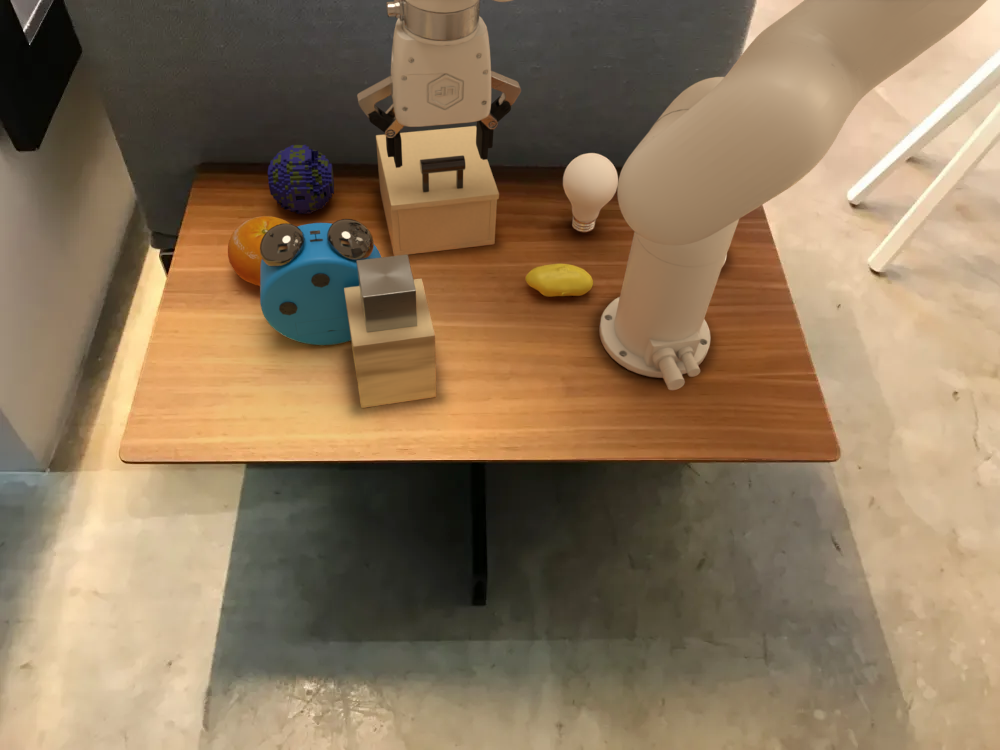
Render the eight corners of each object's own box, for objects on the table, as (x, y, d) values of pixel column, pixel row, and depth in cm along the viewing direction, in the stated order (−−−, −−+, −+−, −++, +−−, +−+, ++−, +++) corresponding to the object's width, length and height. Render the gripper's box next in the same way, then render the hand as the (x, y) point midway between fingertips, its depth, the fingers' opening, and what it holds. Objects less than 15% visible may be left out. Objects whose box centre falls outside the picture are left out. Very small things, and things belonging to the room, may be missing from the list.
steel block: (417, 326, 84) (415, 290, 80) (366, 332, 83) (362, 297, 79) (409, 290, 87) (407, 254, 83) (360, 296, 86) (356, 260, 82)
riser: (436, 397, 91) (435, 335, 83) (361, 408, 90) (352, 346, 82) (423, 341, 96) (421, 278, 88) (352, 351, 95) (343, 287, 87)
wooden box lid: (498, 199, 100) (500, 164, 96) (391, 211, 98) (389, 175, 94) (475, 131, 108) (476, 96, 104) (376, 140, 106) (373, 105, 102)
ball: (276, 183, 112) (267, 134, 106) (336, 181, 113) (329, 132, 107) (273, 224, 107) (263, 175, 101) (335, 222, 108) (328, 173, 102)
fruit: (317, 274, 97) (278, 212, 93) (251, 309, 97) (210, 249, 94) (317, 253, 104) (281, 195, 101) (256, 286, 105) (218, 230, 101)
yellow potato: (590, 307, 101) (595, 283, 98) (523, 300, 101) (525, 276, 98) (591, 281, 103) (595, 258, 100) (525, 275, 103) (528, 251, 100)
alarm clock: (386, 303, 99) (377, 202, 88) (391, 343, 96) (382, 243, 84) (271, 313, 98) (247, 212, 86) (271, 354, 94) (246, 254, 82)
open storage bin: (494, 244, 107) (497, 195, 100) (393, 256, 104) (390, 206, 98) (474, 180, 114) (475, 131, 108) (380, 190, 112) (376, 140, 106)
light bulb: (547, 233, 108) (555, 163, 100) (572, 205, 112) (582, 134, 103) (593, 254, 106) (606, 184, 98) (617, 225, 110) (631, 154, 101)
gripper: (355, 38, 79) (366, 184, 92) (536, 26, 82) (521, 170, 95) (346, -4, 83) (358, 142, 97) (518, -13, 86) (506, 129, 100)
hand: (439, 156), depth 96 cm, fingers open, 9 cm apart
